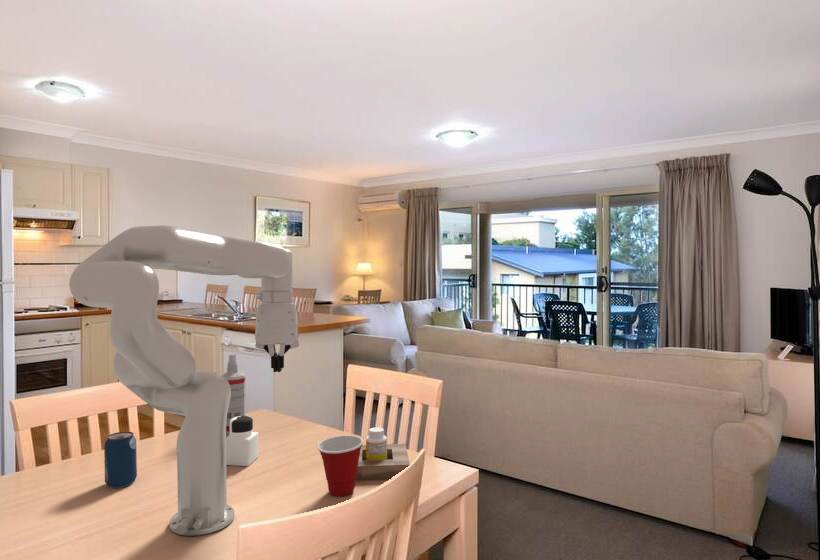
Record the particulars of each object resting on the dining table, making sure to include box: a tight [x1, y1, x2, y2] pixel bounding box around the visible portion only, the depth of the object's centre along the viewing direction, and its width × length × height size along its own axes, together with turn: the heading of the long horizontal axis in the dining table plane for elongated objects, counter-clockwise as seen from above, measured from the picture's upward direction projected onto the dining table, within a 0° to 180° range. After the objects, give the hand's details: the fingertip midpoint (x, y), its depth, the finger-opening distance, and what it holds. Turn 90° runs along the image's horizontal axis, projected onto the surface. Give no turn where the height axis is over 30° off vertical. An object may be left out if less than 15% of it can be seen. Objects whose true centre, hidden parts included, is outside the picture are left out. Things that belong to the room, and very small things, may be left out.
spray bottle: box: [221, 353, 247, 435], centre depth 173 cm, size 8×8×25 cm
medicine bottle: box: [226, 415, 260, 467], centre depth 146 cm, size 7×7×12 cm
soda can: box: [103, 431, 138, 489], centre depth 131 cm, size 7×7×12 cm
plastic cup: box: [317, 435, 364, 498], centre depth 126 cm, size 11×11×12 cm
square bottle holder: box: [355, 443, 411, 481], centre depth 141 cm, size 16×16×4 cm
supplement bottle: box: [365, 426, 388, 460], centre depth 141 cm, size 6×6×10 cm
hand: (277, 371), depth 134 cm, fingers closed
